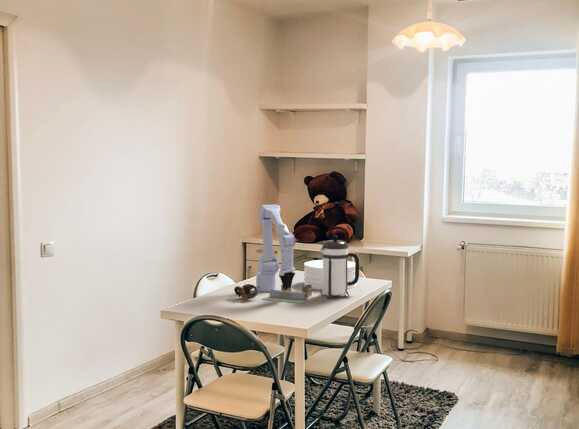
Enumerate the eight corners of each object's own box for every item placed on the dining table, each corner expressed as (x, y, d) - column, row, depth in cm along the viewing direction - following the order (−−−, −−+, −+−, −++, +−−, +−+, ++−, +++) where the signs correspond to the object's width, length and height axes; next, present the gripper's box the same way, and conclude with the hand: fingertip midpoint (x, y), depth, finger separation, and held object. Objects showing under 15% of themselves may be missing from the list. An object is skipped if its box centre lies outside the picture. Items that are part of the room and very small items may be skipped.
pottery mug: (259, 298, 305) (261, 285, 300) (253, 310, 297) (255, 297, 293) (236, 291, 307) (237, 278, 302) (229, 303, 299) (230, 290, 294)
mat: (262, 299, 299) (262, 298, 299) (269, 296, 307) (269, 295, 306) (301, 303, 292) (301, 302, 291) (307, 299, 299) (307, 298, 299)
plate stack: (358, 290, 321) (359, 268, 320) (304, 290, 322) (304, 268, 321) (354, 280, 349) (354, 259, 348) (304, 279, 350) (304, 259, 349)
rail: (272, 296, 304) (269, 297, 301) (272, 289, 304) (269, 290, 301) (307, 299, 297) (304, 300, 294) (307, 292, 297) (304, 293, 294)
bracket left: (281, 294, 310) (281, 284, 309) (285, 292, 315) (285, 282, 315) (286, 295, 309) (286, 285, 308) (291, 293, 314) (291, 283, 313)
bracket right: (301, 296, 306) (301, 286, 305) (306, 294, 311) (306, 284, 310) (307, 297, 304) (307, 287, 304) (311, 294, 310) (311, 284, 309)
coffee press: (343, 301, 296) (344, 238, 294) (314, 297, 305) (314, 235, 302) (359, 294, 311) (360, 234, 308) (330, 290, 320) (331, 232, 317)
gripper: (289, 262, 289) (289, 291, 290) (300, 258, 302) (300, 286, 303) (275, 261, 291) (275, 290, 293) (287, 257, 305) (287, 284, 306)
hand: (287, 288), depth 298 cm, fingers open, 3 cm apart
